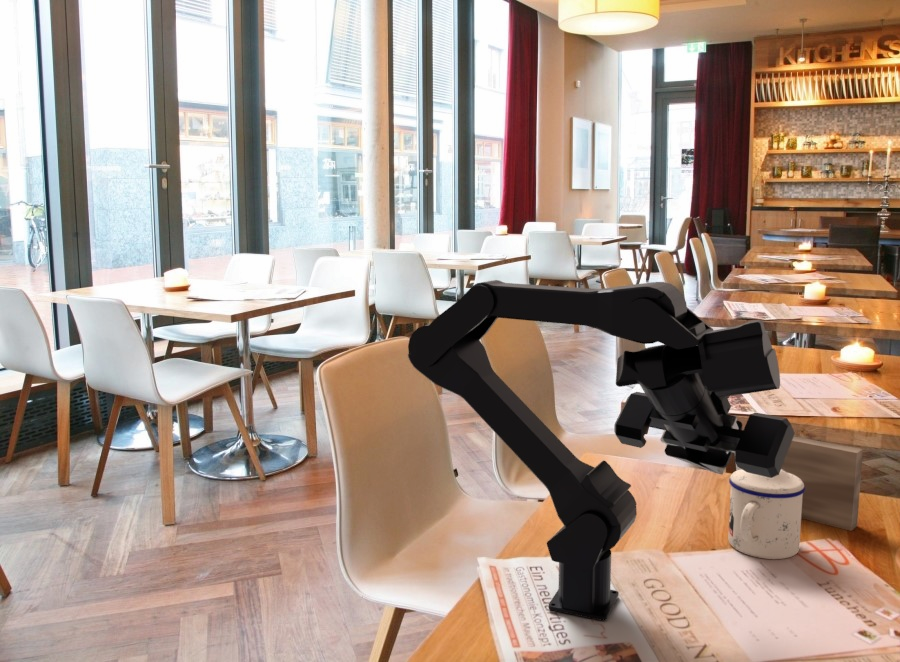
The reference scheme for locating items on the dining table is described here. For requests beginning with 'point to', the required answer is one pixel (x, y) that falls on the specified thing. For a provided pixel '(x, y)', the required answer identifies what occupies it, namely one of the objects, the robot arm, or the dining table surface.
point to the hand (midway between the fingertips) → (721, 470)
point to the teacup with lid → (765, 514)
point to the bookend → (827, 480)
